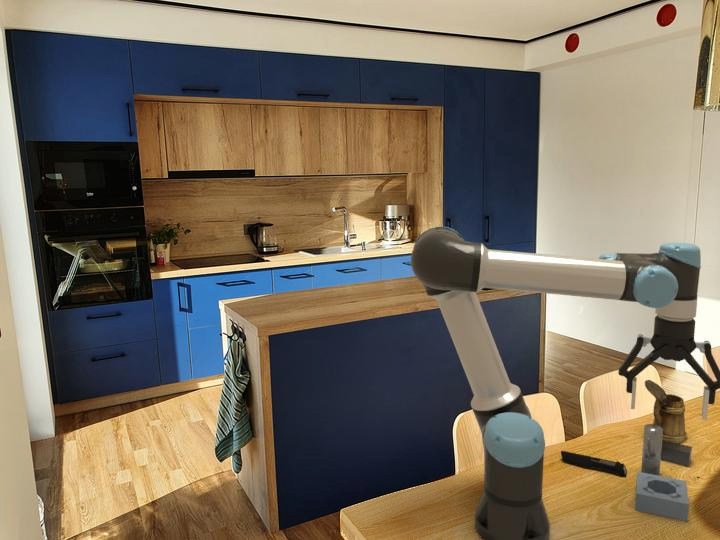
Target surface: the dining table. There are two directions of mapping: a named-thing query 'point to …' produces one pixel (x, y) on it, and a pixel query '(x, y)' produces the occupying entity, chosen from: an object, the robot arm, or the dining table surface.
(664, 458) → the square bar
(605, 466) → the electric trimmer
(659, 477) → the bore block
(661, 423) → the wooden mug
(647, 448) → the ball
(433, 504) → the dining table surface
